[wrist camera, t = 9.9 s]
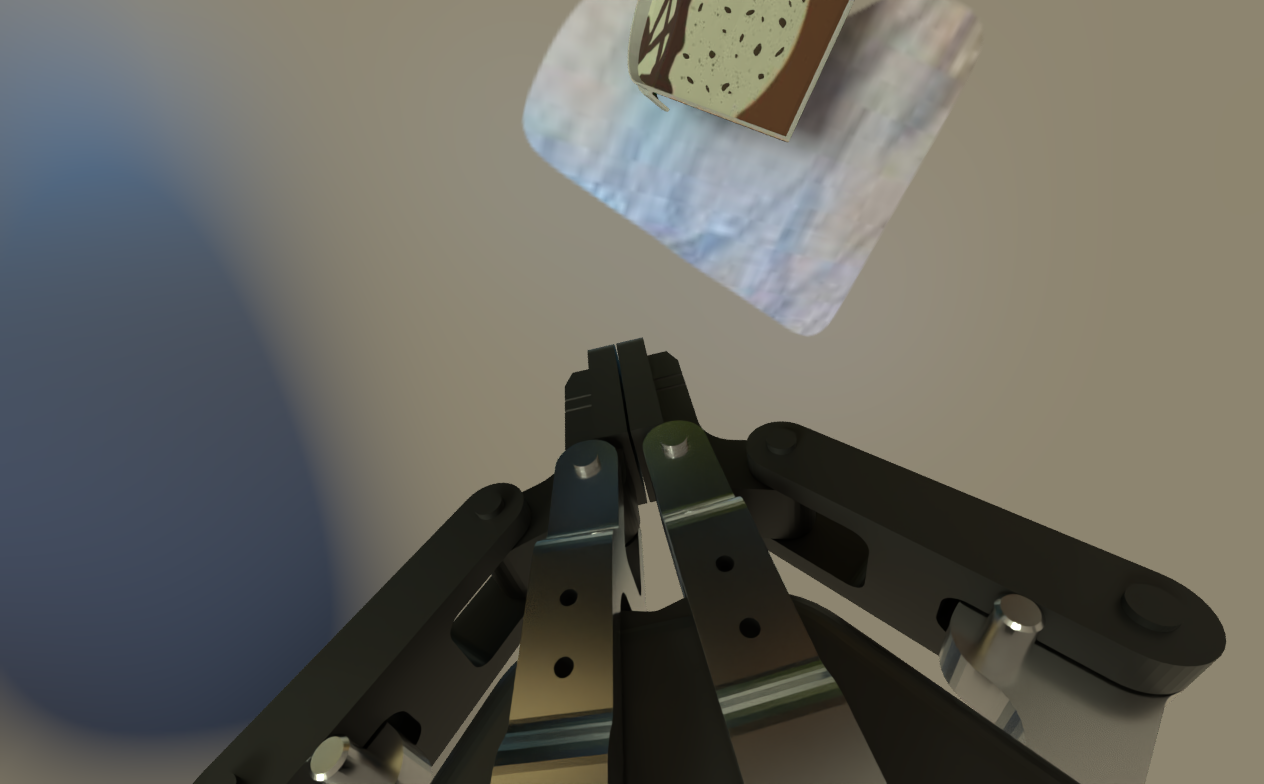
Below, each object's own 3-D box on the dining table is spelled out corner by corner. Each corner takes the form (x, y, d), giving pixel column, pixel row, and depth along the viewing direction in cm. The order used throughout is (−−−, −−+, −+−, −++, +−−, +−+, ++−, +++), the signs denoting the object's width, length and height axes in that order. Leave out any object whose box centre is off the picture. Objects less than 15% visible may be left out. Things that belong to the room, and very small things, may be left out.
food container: (816, -47, 32) (683, -152, 27) (887, -71, 27) (739, -205, 22) (729, 155, 36) (604, 93, 32) (776, 167, 31) (635, 95, 27)
